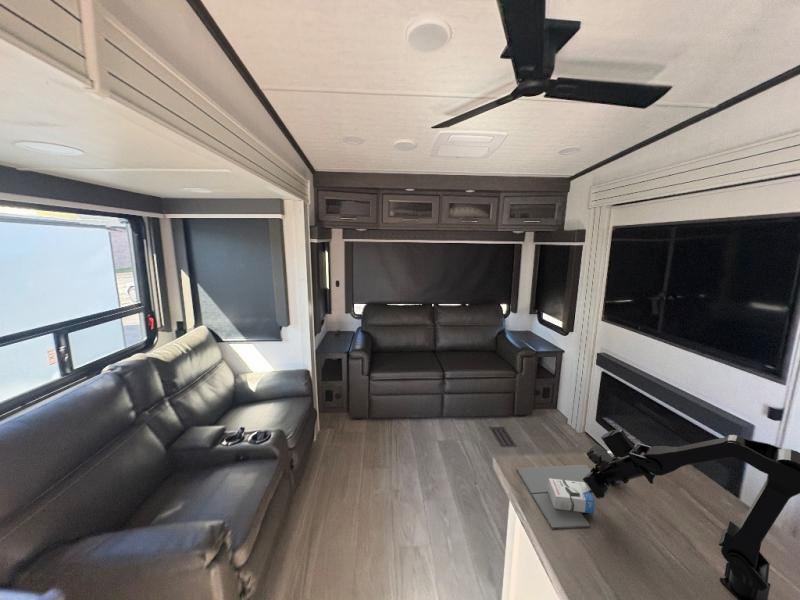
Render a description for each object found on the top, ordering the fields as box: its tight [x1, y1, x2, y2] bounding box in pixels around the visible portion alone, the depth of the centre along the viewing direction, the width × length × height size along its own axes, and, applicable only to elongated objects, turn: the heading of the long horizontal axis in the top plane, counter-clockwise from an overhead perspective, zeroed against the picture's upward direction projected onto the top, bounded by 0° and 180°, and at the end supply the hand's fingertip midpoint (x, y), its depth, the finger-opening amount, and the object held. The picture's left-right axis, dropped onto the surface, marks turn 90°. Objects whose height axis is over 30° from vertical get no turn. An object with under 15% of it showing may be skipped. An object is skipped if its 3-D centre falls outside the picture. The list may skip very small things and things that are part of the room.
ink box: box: [548, 478, 595, 514], centre depth 103 cm, size 8×5×12 cm
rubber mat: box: [516, 464, 610, 530], centre depth 107 cm, size 26×28×1 cm
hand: (583, 480), depth 104 cm, fingers closed
